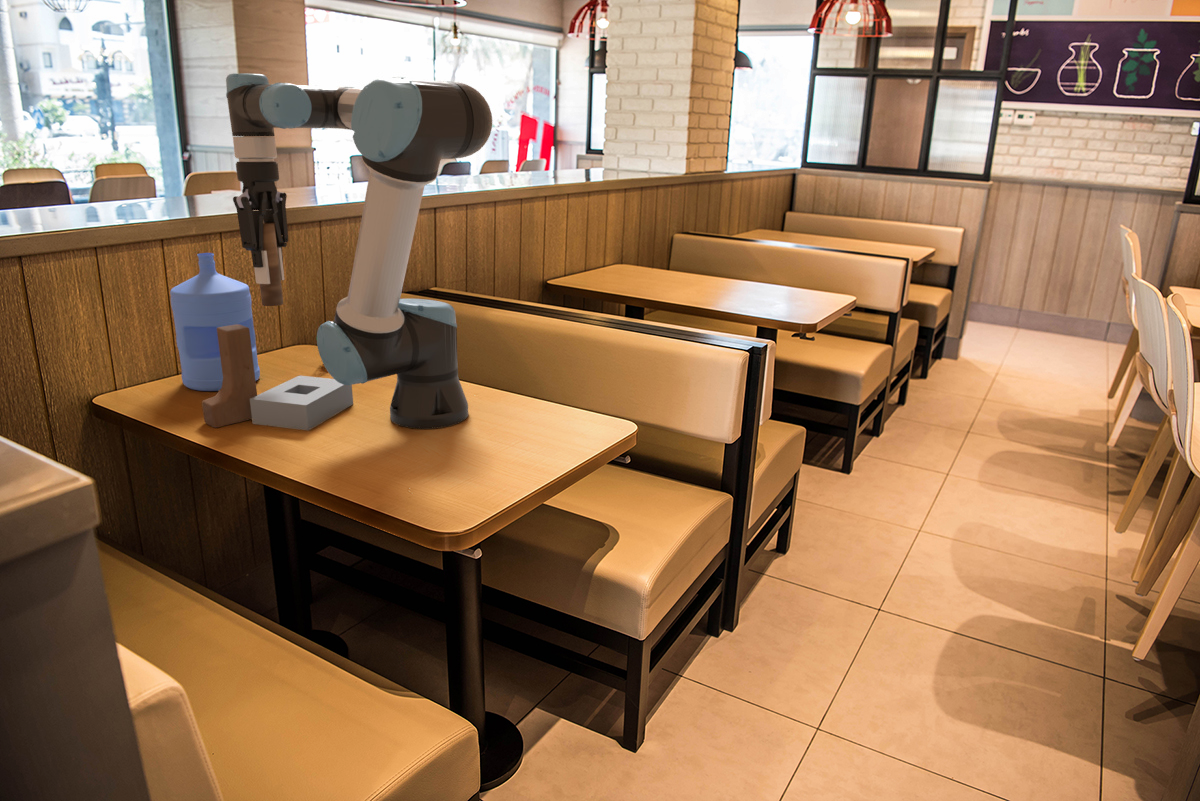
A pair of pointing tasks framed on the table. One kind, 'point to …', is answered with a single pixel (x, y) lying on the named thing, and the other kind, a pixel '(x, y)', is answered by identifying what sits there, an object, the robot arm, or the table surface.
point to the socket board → (301, 402)
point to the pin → (271, 269)
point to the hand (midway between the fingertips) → (270, 281)
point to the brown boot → (233, 379)
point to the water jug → (208, 323)
